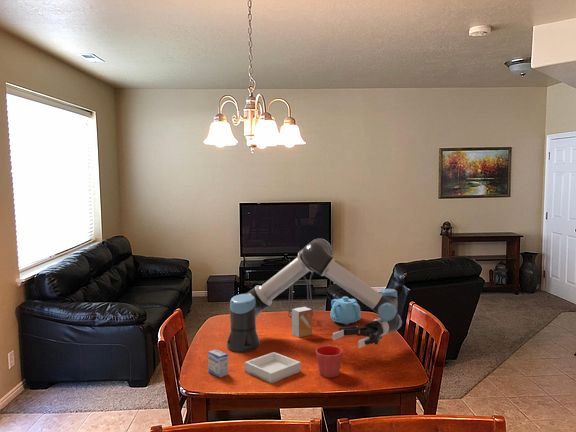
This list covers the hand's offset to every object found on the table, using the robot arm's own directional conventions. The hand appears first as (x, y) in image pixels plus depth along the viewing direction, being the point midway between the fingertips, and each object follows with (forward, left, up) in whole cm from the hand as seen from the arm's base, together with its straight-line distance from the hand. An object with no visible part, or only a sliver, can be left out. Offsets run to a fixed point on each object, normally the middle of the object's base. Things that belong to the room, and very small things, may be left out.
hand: (345, 340), depth 202 cm
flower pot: (-5, -9, -11) cm, 15 cm away
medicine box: (-47, -24, -11) cm, 54 cm away
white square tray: (-27, -15, -11) cm, 32 cm away
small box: (-31, +32, -11) cm, 46 cm away
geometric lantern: (-39, +52, -11) cm, 66 cm away
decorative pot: (-16, +60, -11) cm, 63 cm away
